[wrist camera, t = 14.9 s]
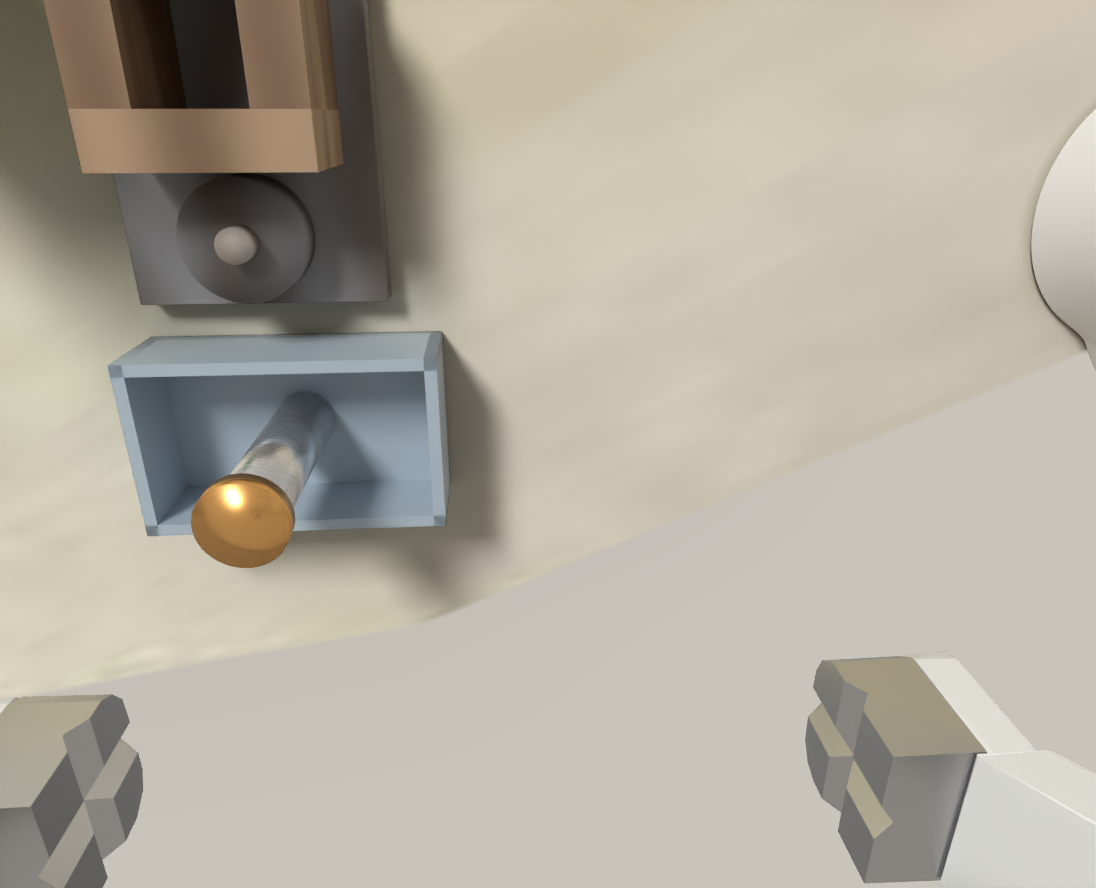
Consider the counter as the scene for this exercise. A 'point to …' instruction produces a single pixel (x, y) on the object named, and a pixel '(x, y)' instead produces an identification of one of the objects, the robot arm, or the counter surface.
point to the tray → (254, 396)
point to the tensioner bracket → (232, 143)
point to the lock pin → (264, 486)
